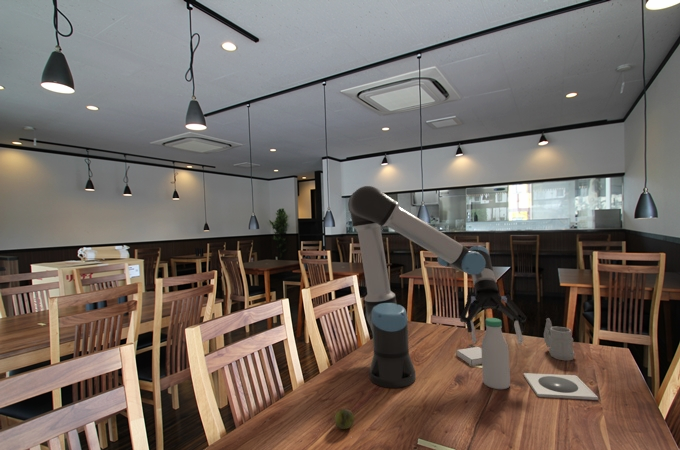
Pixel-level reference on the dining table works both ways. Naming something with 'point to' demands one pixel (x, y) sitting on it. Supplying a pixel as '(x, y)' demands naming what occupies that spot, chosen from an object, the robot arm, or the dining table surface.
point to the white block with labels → (471, 355)
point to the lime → (344, 418)
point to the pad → (559, 386)
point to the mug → (559, 342)
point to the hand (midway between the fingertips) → (497, 341)
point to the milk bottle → (495, 356)
